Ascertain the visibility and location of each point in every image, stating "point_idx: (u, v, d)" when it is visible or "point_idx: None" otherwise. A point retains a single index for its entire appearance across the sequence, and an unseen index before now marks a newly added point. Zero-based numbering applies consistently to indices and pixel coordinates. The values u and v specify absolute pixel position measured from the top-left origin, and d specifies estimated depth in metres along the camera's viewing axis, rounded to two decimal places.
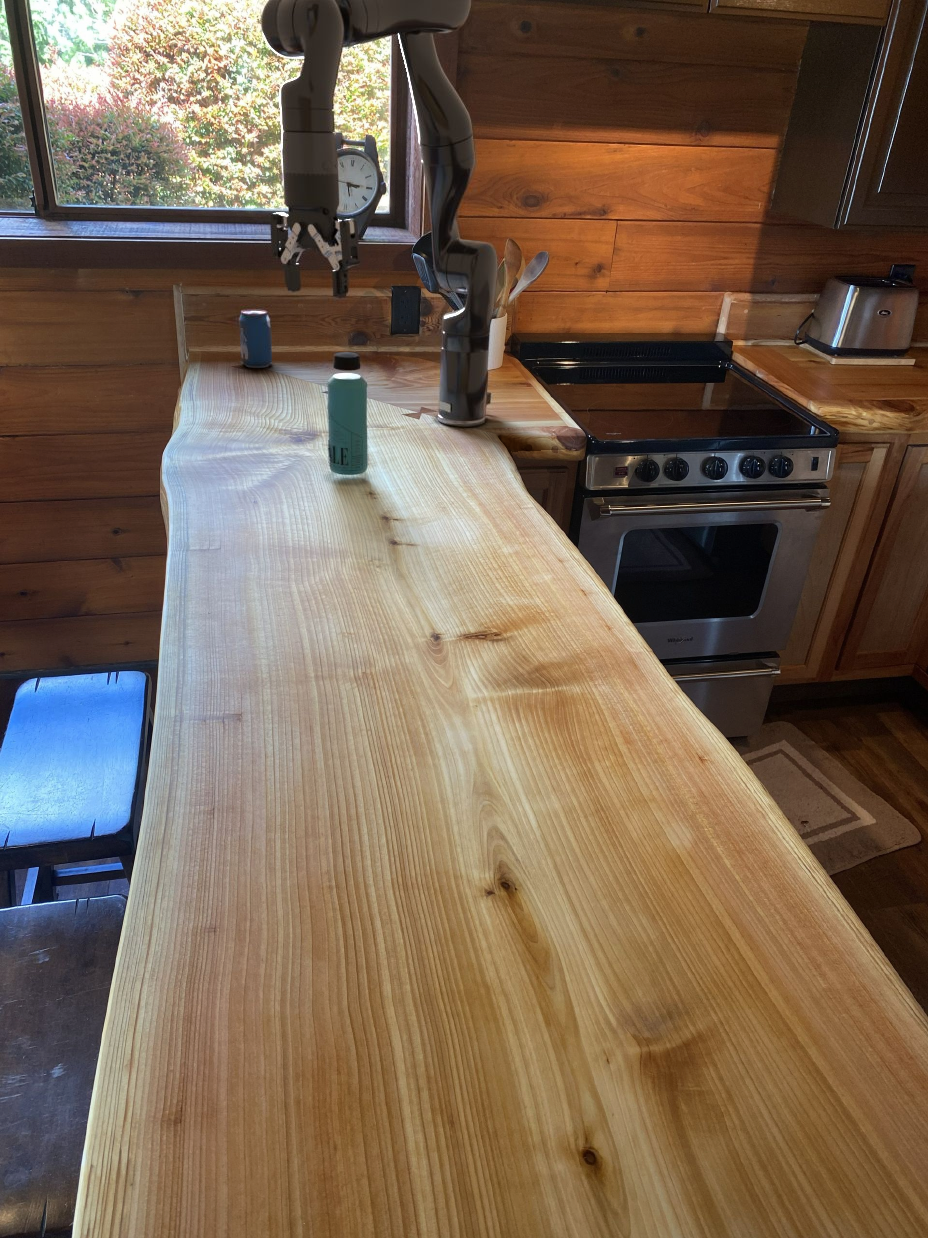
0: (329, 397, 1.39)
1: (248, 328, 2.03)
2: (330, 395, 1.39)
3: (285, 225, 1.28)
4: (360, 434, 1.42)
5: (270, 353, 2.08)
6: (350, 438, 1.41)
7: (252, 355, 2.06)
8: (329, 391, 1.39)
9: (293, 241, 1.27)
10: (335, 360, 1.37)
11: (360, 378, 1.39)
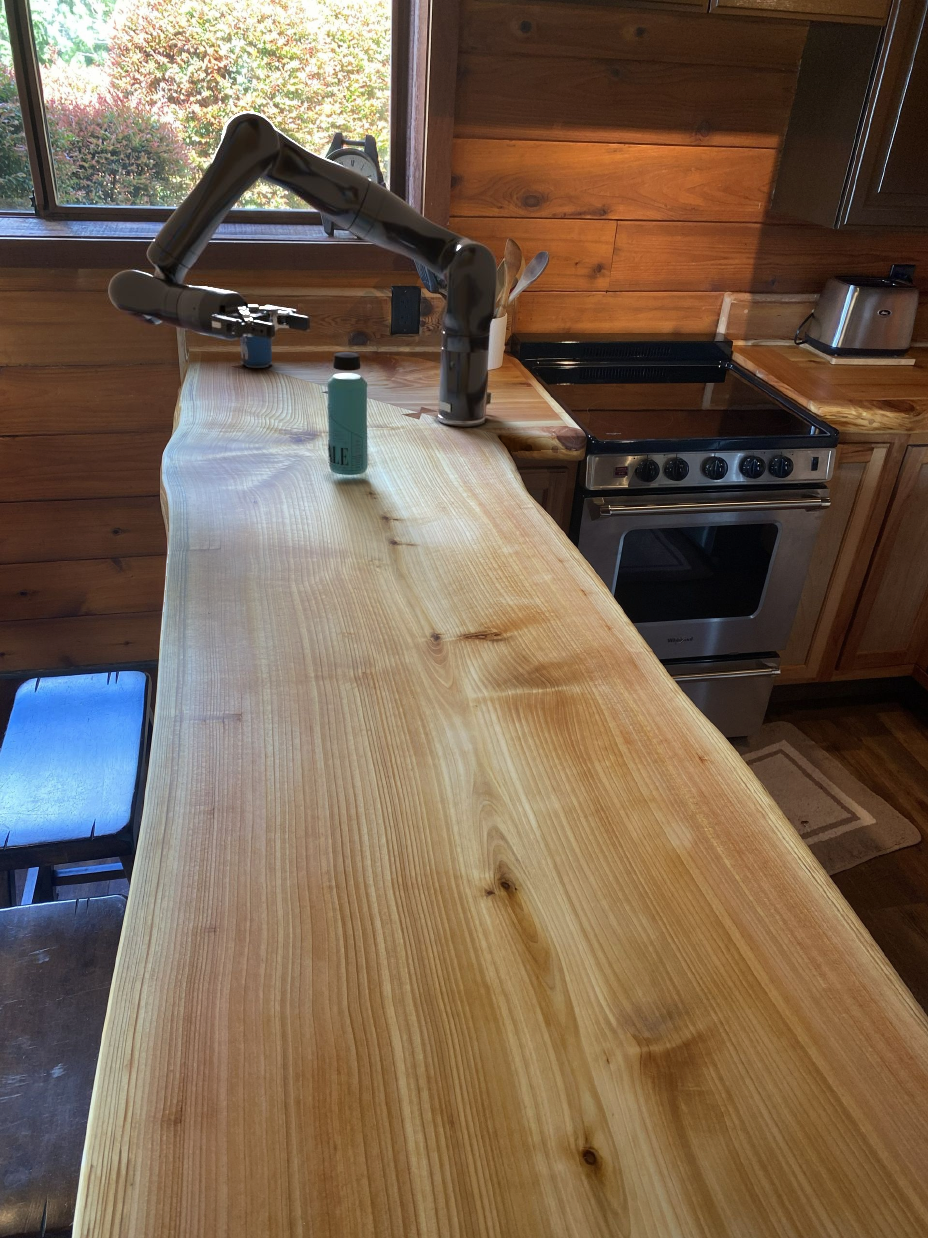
0: (329, 397, 1.39)
1: None
2: (330, 395, 1.39)
3: (268, 317, 1.48)
4: (360, 434, 1.42)
5: (270, 353, 2.08)
6: (350, 438, 1.41)
7: (252, 355, 2.06)
8: (329, 391, 1.39)
9: None
10: (335, 360, 1.37)
11: (360, 378, 1.39)
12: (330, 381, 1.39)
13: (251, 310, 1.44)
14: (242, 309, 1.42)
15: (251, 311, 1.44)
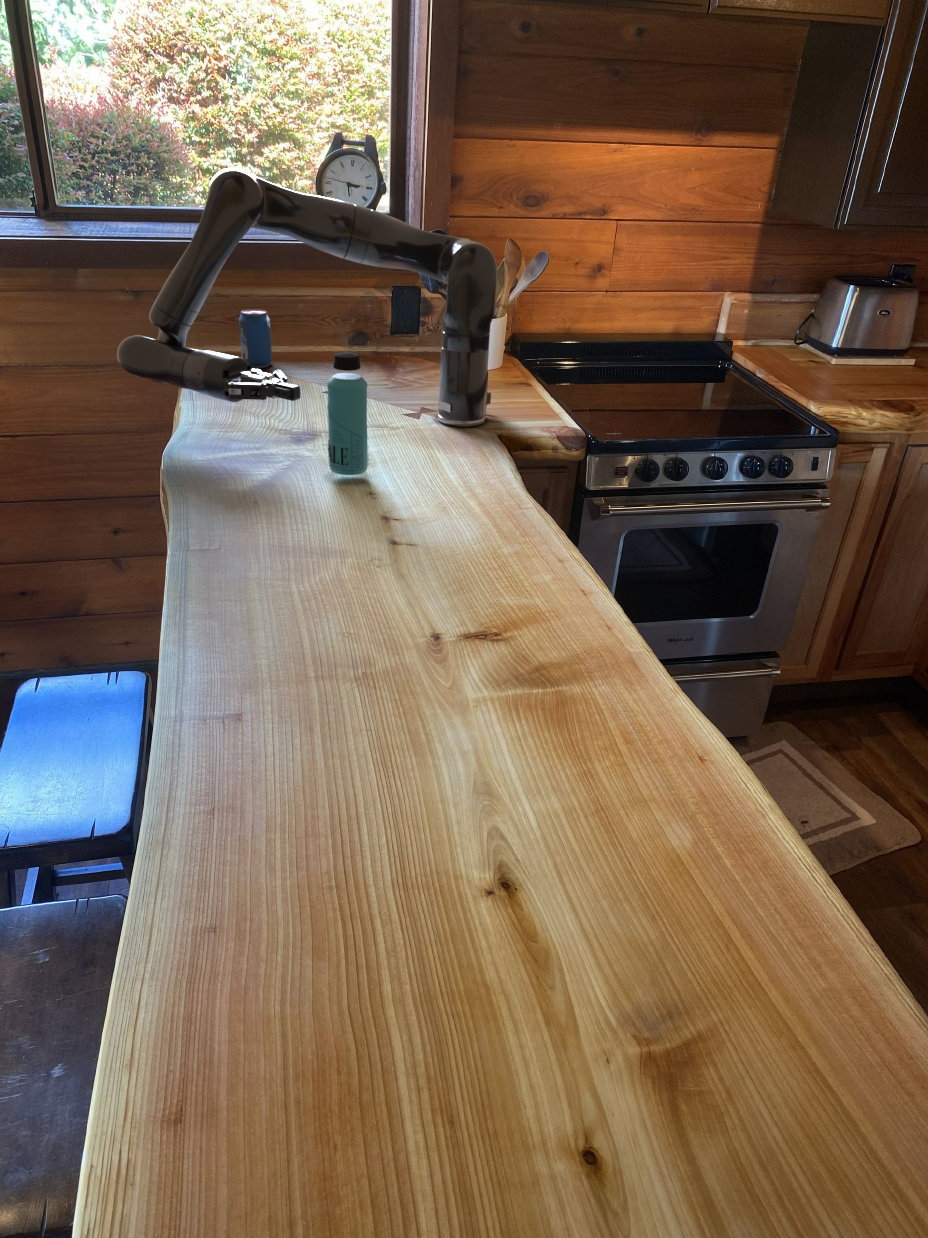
0: (329, 397, 1.39)
1: (248, 328, 2.03)
2: (330, 395, 1.39)
3: None
4: (360, 434, 1.42)
5: (270, 353, 2.08)
6: (350, 438, 1.41)
7: (252, 355, 2.06)
8: (329, 391, 1.39)
9: None
10: (335, 360, 1.37)
11: (360, 378, 1.39)
12: (330, 381, 1.39)
13: (251, 374, 1.50)
14: (245, 374, 1.47)
15: None
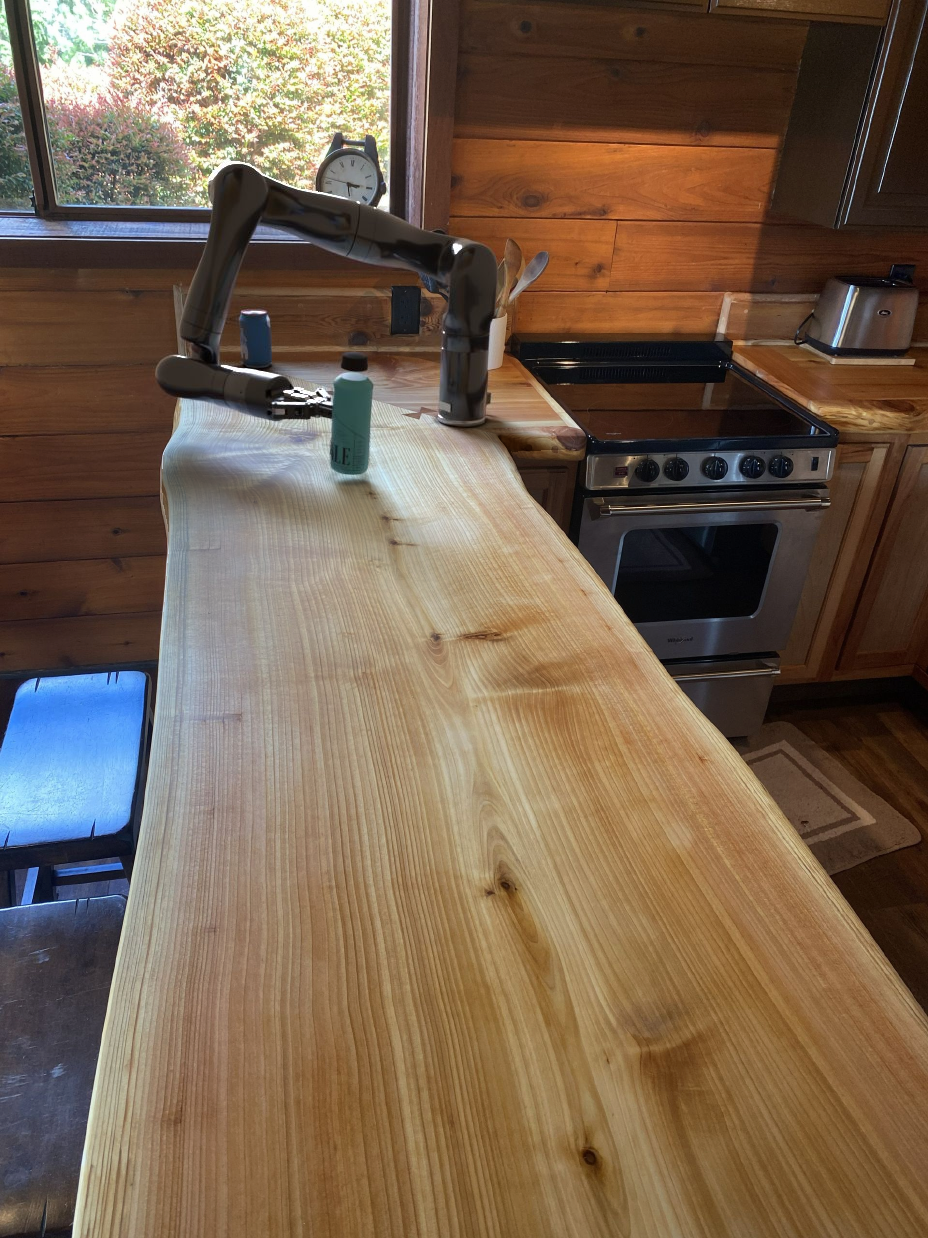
0: (334, 396, 1.39)
1: (248, 328, 2.03)
2: (336, 395, 1.38)
3: None
4: (363, 435, 1.41)
5: (270, 353, 2.08)
6: (353, 439, 1.41)
7: (252, 355, 2.06)
8: (335, 390, 1.38)
9: None
10: (343, 360, 1.36)
11: (367, 379, 1.38)
12: (336, 380, 1.38)
13: None
14: (288, 393, 1.44)
15: (296, 394, 1.47)
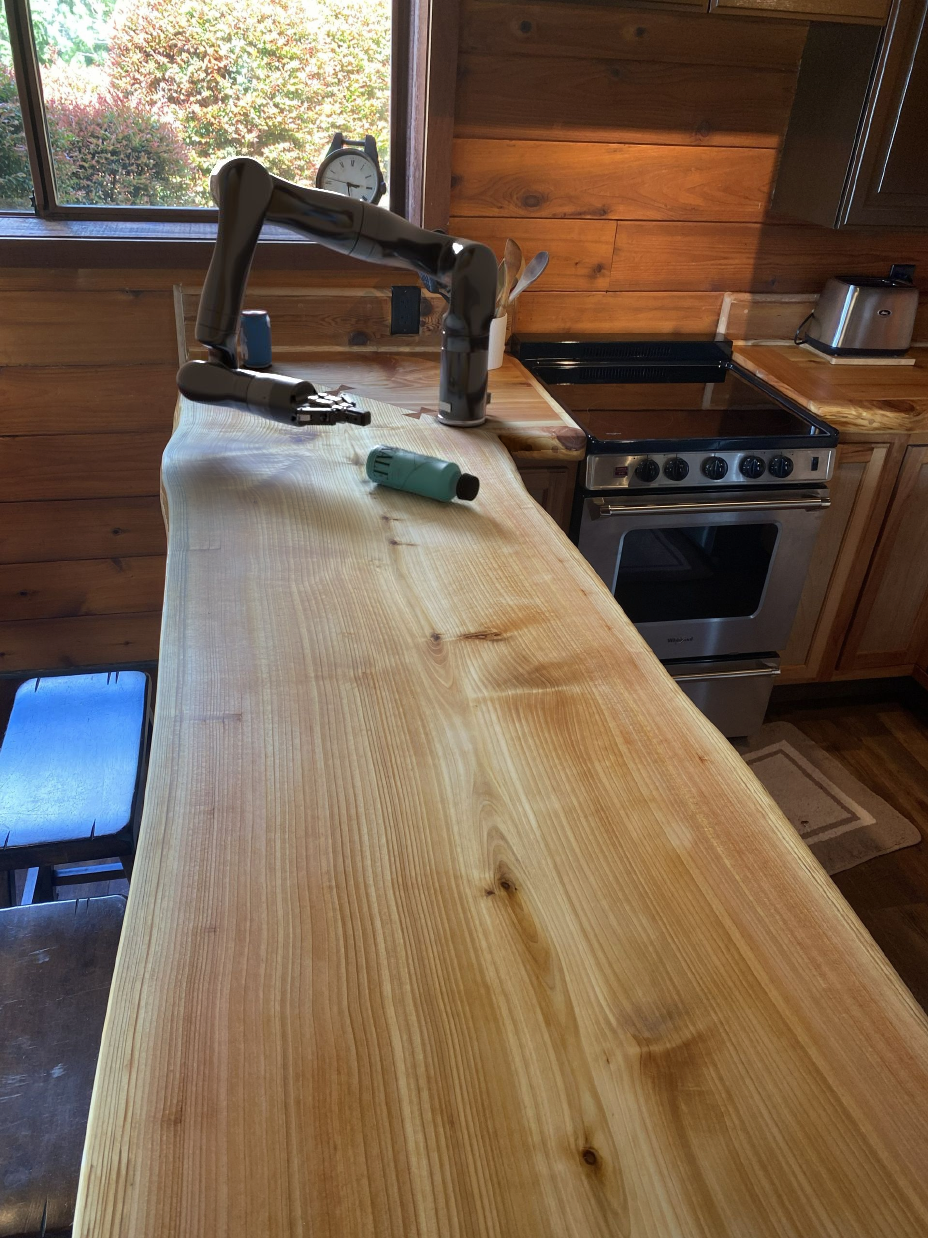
0: (432, 468, 1.37)
1: (248, 328, 2.03)
2: (433, 471, 1.36)
3: None
4: None
5: (270, 353, 2.08)
6: (397, 483, 1.40)
7: (252, 355, 2.06)
8: (437, 470, 1.36)
9: None
10: (465, 482, 1.35)
11: (453, 497, 1.39)
12: (446, 472, 1.36)
13: (318, 398, 1.45)
14: (313, 399, 1.42)
15: None
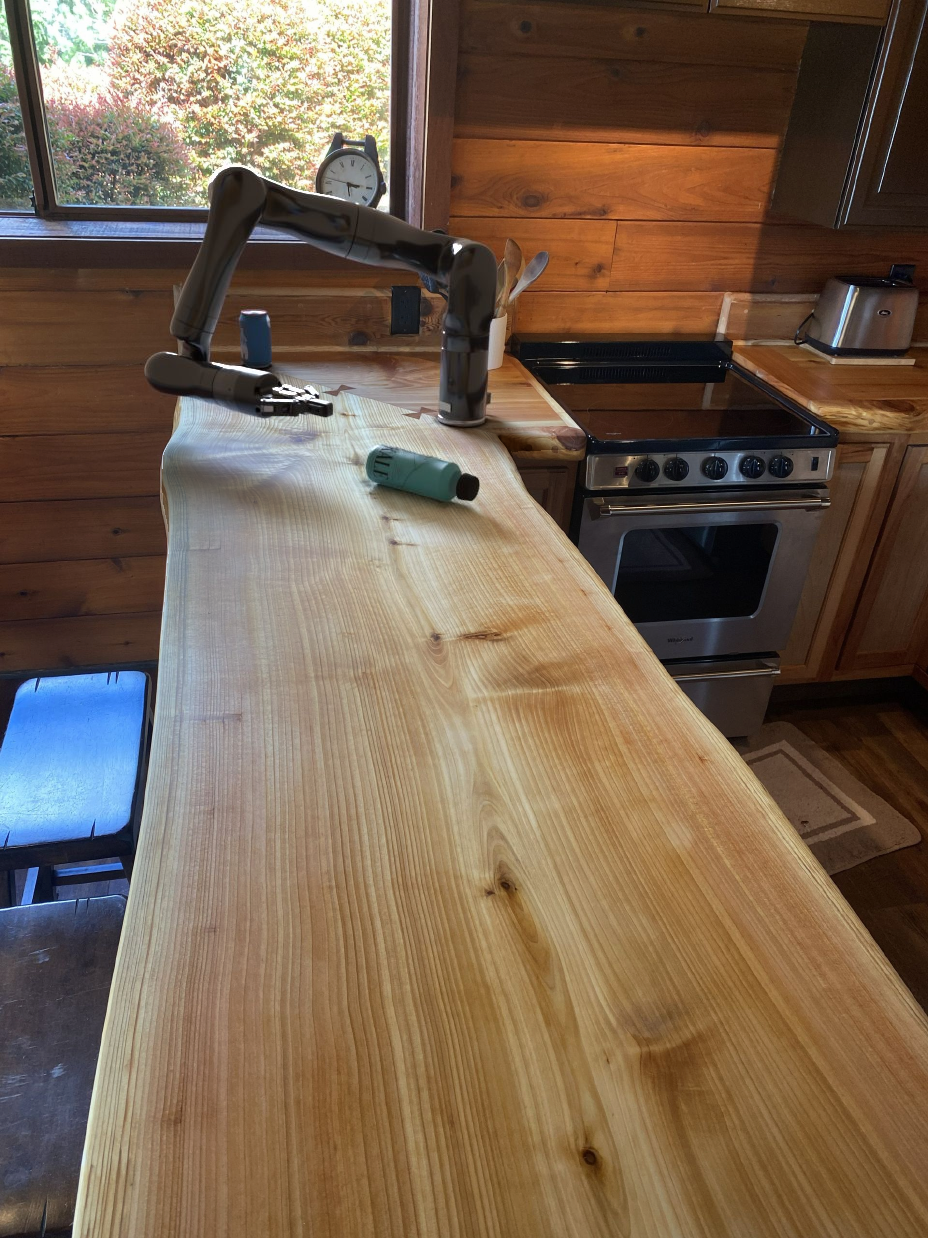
0: (432, 468, 1.37)
1: (248, 328, 2.03)
2: (433, 471, 1.36)
3: None
4: None
5: (270, 353, 2.08)
6: (397, 483, 1.40)
7: (252, 355, 2.06)
8: (437, 470, 1.36)
9: None
10: (465, 482, 1.35)
11: (453, 497, 1.39)
12: (446, 472, 1.36)
13: (282, 390, 1.48)
14: (276, 391, 1.45)
15: None
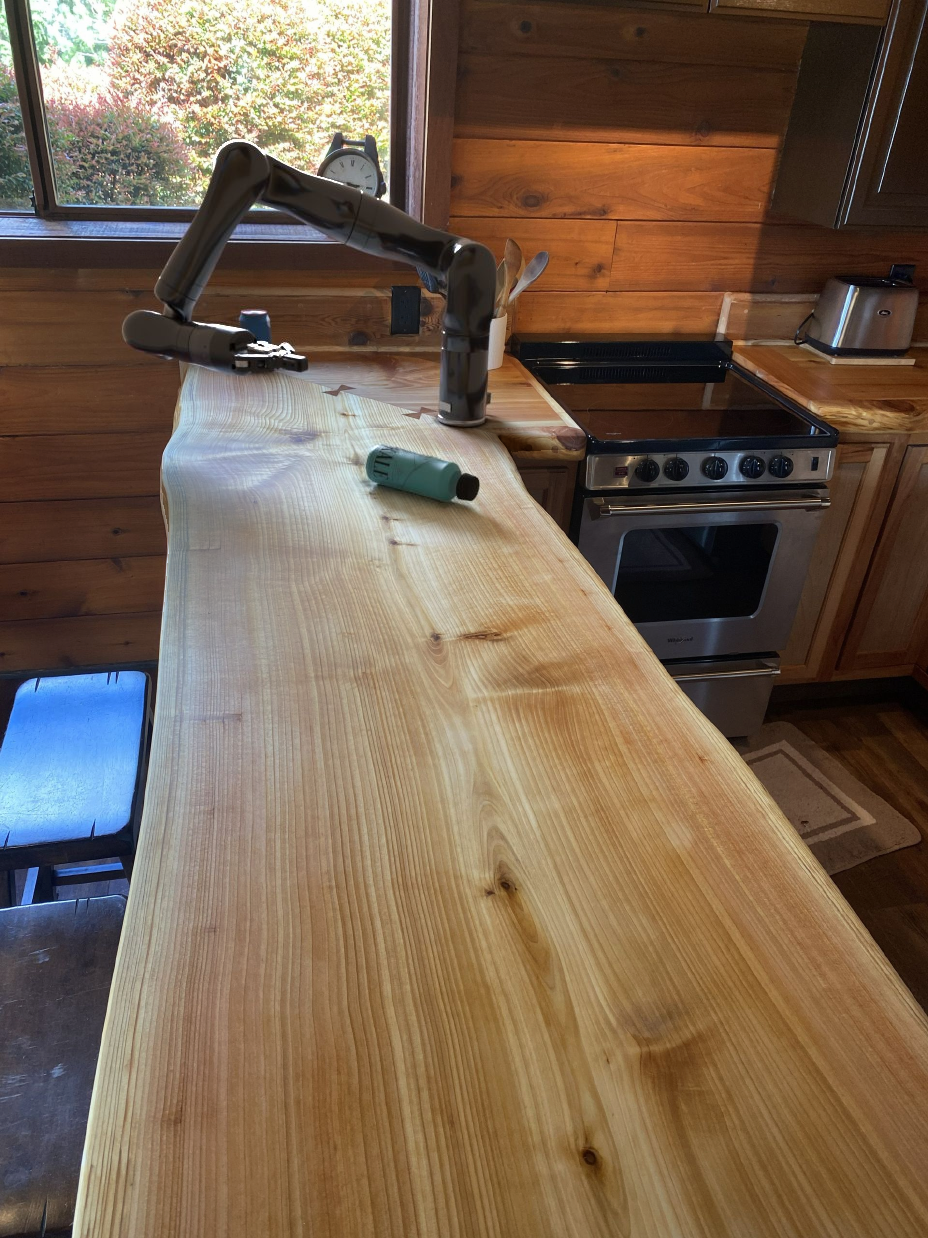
0: (432, 468, 1.37)
1: (248, 328, 2.03)
2: (433, 471, 1.36)
3: None
4: None
5: None
6: (397, 483, 1.40)
7: None
8: (437, 470, 1.36)
9: None
10: (465, 482, 1.35)
11: (453, 497, 1.39)
12: (446, 472, 1.36)
13: None
14: (251, 346, 1.45)
15: None
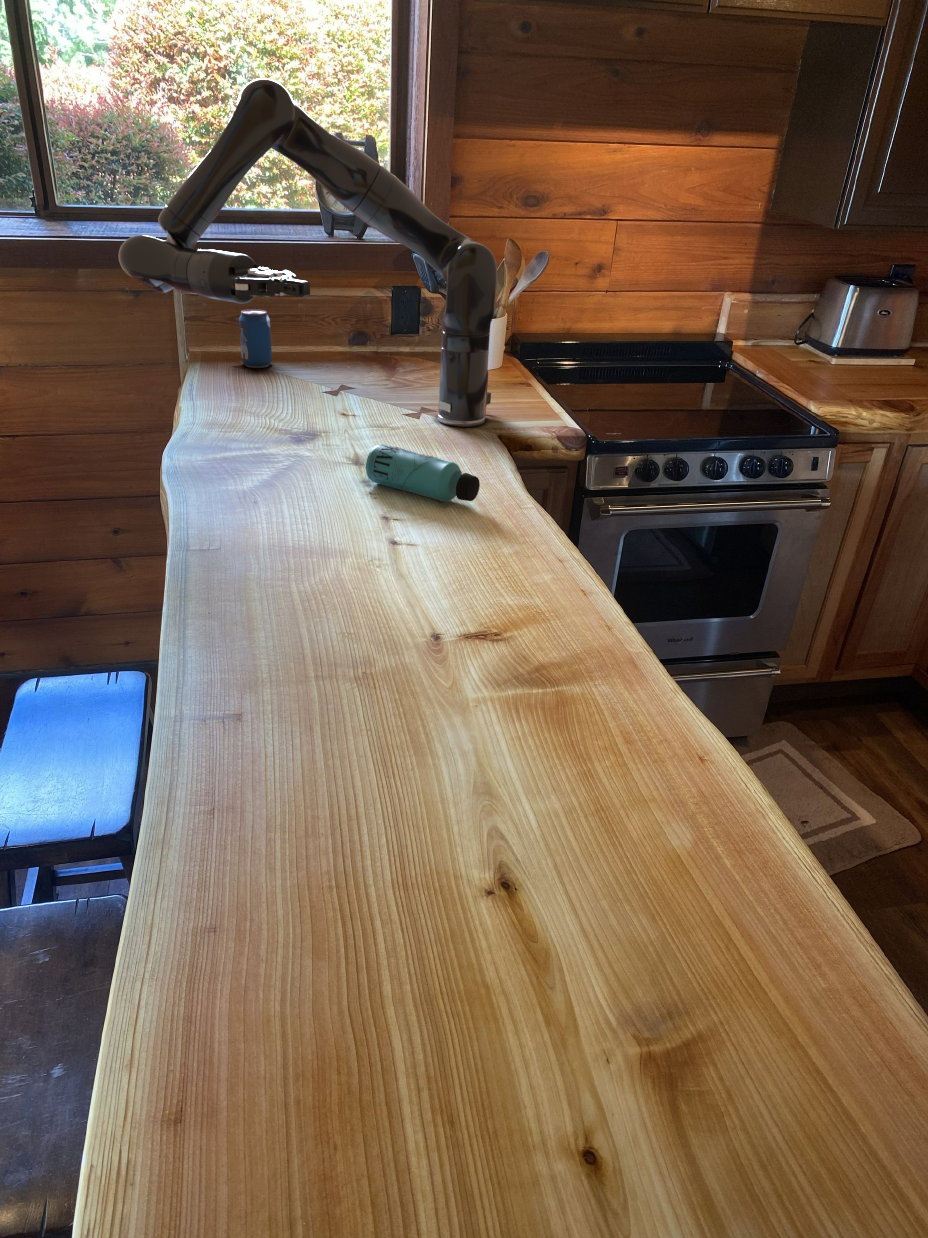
0: (432, 468, 1.37)
1: (248, 328, 2.03)
2: (433, 471, 1.36)
3: None
4: None
5: (270, 353, 2.08)
6: (397, 483, 1.40)
7: (252, 355, 2.06)
8: (437, 470, 1.36)
9: None
10: (465, 482, 1.35)
11: (453, 497, 1.39)
12: (446, 472, 1.36)
13: None
14: (252, 271, 1.41)
15: None
